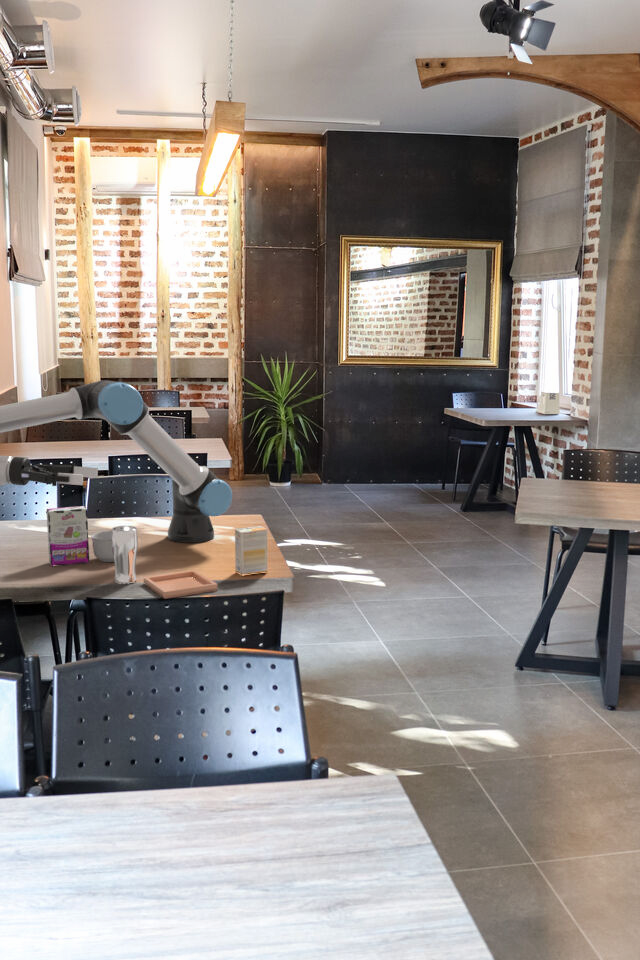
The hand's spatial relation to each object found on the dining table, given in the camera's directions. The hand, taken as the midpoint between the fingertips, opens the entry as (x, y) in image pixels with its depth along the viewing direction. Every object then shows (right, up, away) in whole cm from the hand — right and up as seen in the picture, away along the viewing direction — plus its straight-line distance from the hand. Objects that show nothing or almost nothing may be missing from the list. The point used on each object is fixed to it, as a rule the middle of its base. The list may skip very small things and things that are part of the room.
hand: (90, 476), depth 244 cm
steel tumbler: (+9, -29, +4) cm, 31 cm away
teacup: (0, -25, +27) cm, 37 cm away
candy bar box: (-12, -26, +21) cm, 35 cm away
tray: (+24, -30, -1) cm, 39 cm away
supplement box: (+42, -28, +14) cm, 53 cm away
